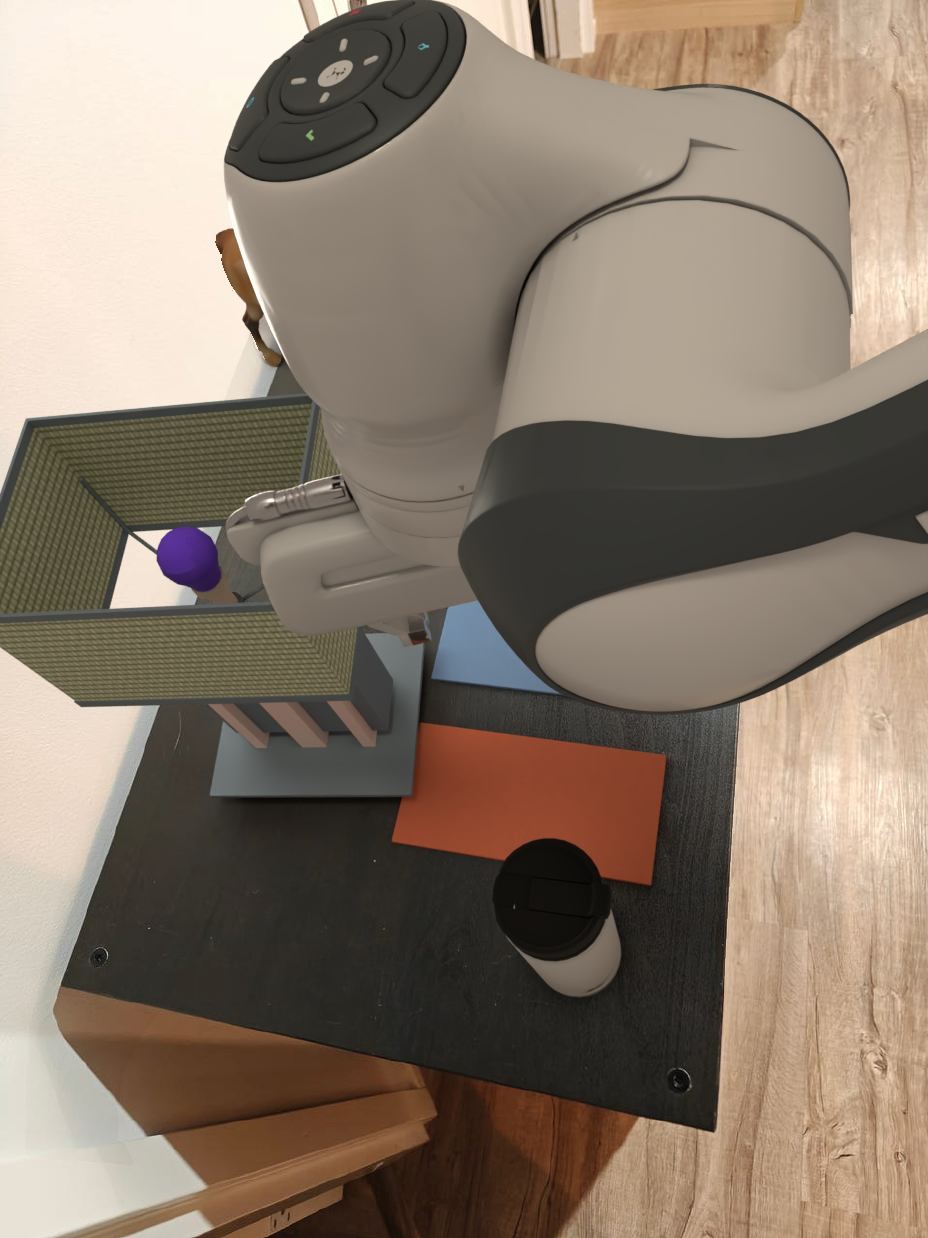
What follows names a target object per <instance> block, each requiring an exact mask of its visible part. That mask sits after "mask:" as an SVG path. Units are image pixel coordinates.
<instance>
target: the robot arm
mask: <svg viewBox="0 0 928 1238" xmlns="http://www.w3.org/2000/svg"><path fill="white" fill-rule="evenodd" d="M223 181H224V190H225V195H226V200H227V205H228V210H229V215H230V220H231V223H232V228H234V232H235V235H236V238H237V241H238V244H239V247H240V250H241V254H242V257H243V260H244V263H245V266H246V269H247V272H248V275H249V277H250V280H251V282H252V285H253V288H254V290H255V293H256V296H257V298H258V301H259V303H260V305H261V308H262V310H263V312H264V315H263V316H265V319H266V321H267V324H268V327H269V329H270V331H271V333H272V334H273V337H274V340H275V341H276V343H277V346H278V347H279V349H280V351H281V354H282V357H283V359H284V360H285V362H286V364H287V366H288V368H289V370H290V372H291V374H292V375H293V378H294V379H295V380H296V383H297V384H298V385H299V387H300V388H301V389H302V390H303V392H304V393H306V394H307V395H308V396H309V397H310V398H311V399H312V400H313V401H314V402H315V403H316V404H317V405H318V406H319V407H321V408H322V422H323V429H324V433H325V437H326V441H327V444H328V446H329V448H330V451H331V453H332V455H333V457H334V459H335V461H336V463H337V465H338V468H339V470H340V472H341V474H339V475H335V476H331V477H326V478H322V479H318V480H314V481H311V482H307V483H305V484H302V485H299V486H296V487H293V488H290V489H287V490H282V491H278V492H277V491H275V490H274V491H267V492H262V493H259V494H256V495H254V496H251V497H249V498H247V499H246V500H245V507H242V508H240V509H238V510H236V511H235V512H234V513H232V514H231V515H230V516H229V518H228V519H227V521H226V523H225V526H224V534H225V536H226V538H227V541H228V543H229V544H230V545H231V546H232V548H233V549H234V551H236V553H237V554H238V556H239V557H240V558H241V559H242V560H243V561H245V562H246V563H248V564H250V565H252V566H256V567H259V568H260V575H261V576H260V577H261V580H262V584H264V586H265V588H264V589H265V592H266V594H267V597H268V599H269V601H270V602H271V604H272V606H273V608H274V610H275V612H276V614H277V615H278V617H279V619H280V620H281V622H282V624H283V625H284V627H285V628H286V629H287V630H289V631H291V632H294V633H297V634H301V635H305V636H319V635H323V634H328V633H332V632H337V631H341V630H346V629H350V628H355V627H360V626H363V627H364V626H367V627H368V628H370V629H373V630H377V631H380V632H382V633H389V634H392V635H395V636H396V635H398V636H399V638H400V640H401V642H402V644H403V645H404V647H409V646H412V645H417V644H422V643H425V644H426V643H429V642H432V633H431V631H430V627H431V625H430V619H429V615H428V612H432V611H437V610H441V609H447V608H448V607H451V606H456V605H460V604H465V603H469V602H474V601H479V603H480V605H481V606H482V608H483V610H484V611H485V613H486V615H487V616H488V618H489V619H490V621H491V622H492V624H493V625H494V627H495V628H496V630H497V631H498V633H499V634H500V635H501V637H502V638H503V639H504V641H505V642H506V643H507V644H508V646H509V647H510V648H511V649H512V650H513V652H514V653H515V654H516V655H517V656H518V658H519V659H520V660H521V661H522V662H523V663H524V664H525V665H526V666H527V667H528V668H529V669H530V670H531V671H532V672H533V673H534V674H535V675H536V676H537V677H538V678H539V679H540V680H541V681H542V682H544V683H545V684H546V685H547V686H549V687H550V688H552V689H553V690H555V691H557V692H559V693H560V694H562V695H564V696H563V697H566V698H569V699H571V700H574V701H576V702H579V703H582V704H584V705H588V706H591V707H595V708H598V709H603V710H608V711H613V712H620V713H627V714H628V713H629V714H634V715H635V714H636V715H637V714H638V715H657V716H660V715H661V716H662V715H665V716H666V715H685V714H686V715H687V714H694V713H702V712H709V711H714V710H719V709H723V708H728V707H731V706H736V705H739V704H742V703H744V702H748V701H750V700H754V699H755V698H756V699H757V698H758V697H761V696H763V695H766V694H769V693H770V692H773V691H776V690H777V689H779V688H781V687H783V686H785V685H787V684H789V683H791V682H793V681H795V680H797V679H799V678H801V677H802V676H805V675H807V674H808V673H810V672H812V671H814V670H815V669H818V668H821V666H823V665H826V664H827V663H829V662H831V661H832V660H834V659H836V658H838V657H840V656H842V655H843V654H845V653H847V652H849V651H851V650H853V649H854V648H857V647H858V646H861V645H862V644H864V643H867V642H868V641H870V640H873V639H874V638H876V637H878V636H881V635H882V634H885V633H888V632H889V631H891V630H893V629H896V628H898V627H900V626H902V625H904V624H907V623H910V622H912V621H915V620H917V619H920V618H922V617H924V616H927V615H928V328H926V329H925V330H922V331H920V332H919V333H917V334H915V335H913V336H911V337H910V338H909V337H908V338H907V339H906V340H904V341H901V342H899V343H898V344H895V345H894V346H892V347H890V348H888V349H886V350H885V351H883V352H881V353H880V354H877V355H874V356H873V357H871V358H869V359H867V360H866V361H863V362H861V363H860V364H858V365H856V366H854V367H851V366H852V364H851V363H852V361H851V360H852V359H851V329H852V328H851V327H852V317H851V316H852V315H853V314H854V302H853V297H854V295H853V259H852V256H853V255H852V232H851V230H852V229H851V228H852V227H851V194H850V193H851V192H850V185H849V180H848V176H847V174H846V170H845V167H844V165H843V163H842V161H841V158H840V156H839V155H838V153H837V151H836V149H835V147H834V146H833V144H832V143H831V142H830V141H829V139H828V137H827V136H826V135H825V134H824V133H823V132H822V131H821V129H820V128H819V127H818V126H817V125H816V124H815V123H813V121H811V120H810V119H809V118H808V117H806V116H805V115H804V114H802V113H801V111H798V110H797V109H795V108H794V107H792V106H790V105H789V104H787V103H786V102H783V101H782V100H779V99H777V98H775V97H773V96H770V95H768V94H765V93H763V92H760V91H756V90H754V89H749V88H746V87H740V86H737V85H736V86H735V85H731V84H730V85H729V84H720V83H719V84H718V83H692V84H680V85H672V86H666V87H659V88H653V89H651V88H644V87H637V86H632V85H625V84H620V83H616V82H611V81H607V80H602V79H598V78H594V77H589V76H585V75H581V74H578V73H574V72H571V71H567V70H565V69H561V68H558V67H555V66H552V65H549V64H546V63H544V62H541V61H538V60H536V59H534V58H532V57H530V56H529V55H527V54H524V53H522V52H520V51H518V50H516V49H515V48H513V47H512V46H511V45H509V44H508V43H506V42H504V40H503V39H501V38H499V37H498V36H497V35H496V34H494V33H493V32H492V31H491V30H489V29H488V28H487V27H486V26H485V25H484V24H482V23H481V22H480V20H478V19H476V18H475V17H474V16H472V15H471V14H470V13H468V12H467V11H465V10H463V9H461V8H459V7H457V6H456V5H453V4H450V3H448V2H444V1H440V0H384V1H379V2H373V3H370V4H366V5H363V6H360V7H357V8H354V9H352V10H349V11H346V12H344V13H342V14H340V15H337V16H335V17H333V18H332V19H330V20H327V21H326V22H324V23H322V24H320V25H319V26H317V27H315V28H313V29H312V30H311V31H309V32H307V33H305V35H303V38H301V39H300V40H299V41H298V42H297V43H295V44H294V45H292V46H291V47H290V48H289V49H287V50H286V51H285V52H284V53H282V55H280V56H279V58H277V59H274V60H273V61H272V62H271V64H269V66H268V67H267V68H266V70H265V71H264V72H263V73H262V75H261V76H260V78H259V79H258V81H257V82H256V83H255V85H254V87H253V88H252V90H251V92H250V93H249V95H248V96H247V99H246V101H245V102H244V104H243V106H242V109H241V110H240V113H239V115H238V117H237V119H236V121H235V124H234V126H233V129H232V132H231V136H230V138H229V141H228V144H227V146H226V149H225V153H224V158H223ZM562 695H561V696H562Z"/></svg>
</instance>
